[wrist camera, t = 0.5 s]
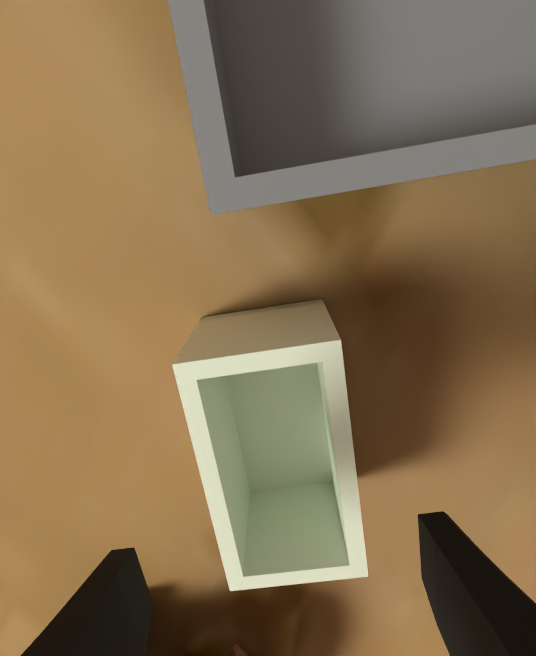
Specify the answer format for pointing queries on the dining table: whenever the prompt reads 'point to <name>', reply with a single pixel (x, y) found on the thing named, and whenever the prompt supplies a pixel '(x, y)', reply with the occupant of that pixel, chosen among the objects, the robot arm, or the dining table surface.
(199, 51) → the charcoal crate
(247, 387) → the sage crate
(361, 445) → the dining table surface
